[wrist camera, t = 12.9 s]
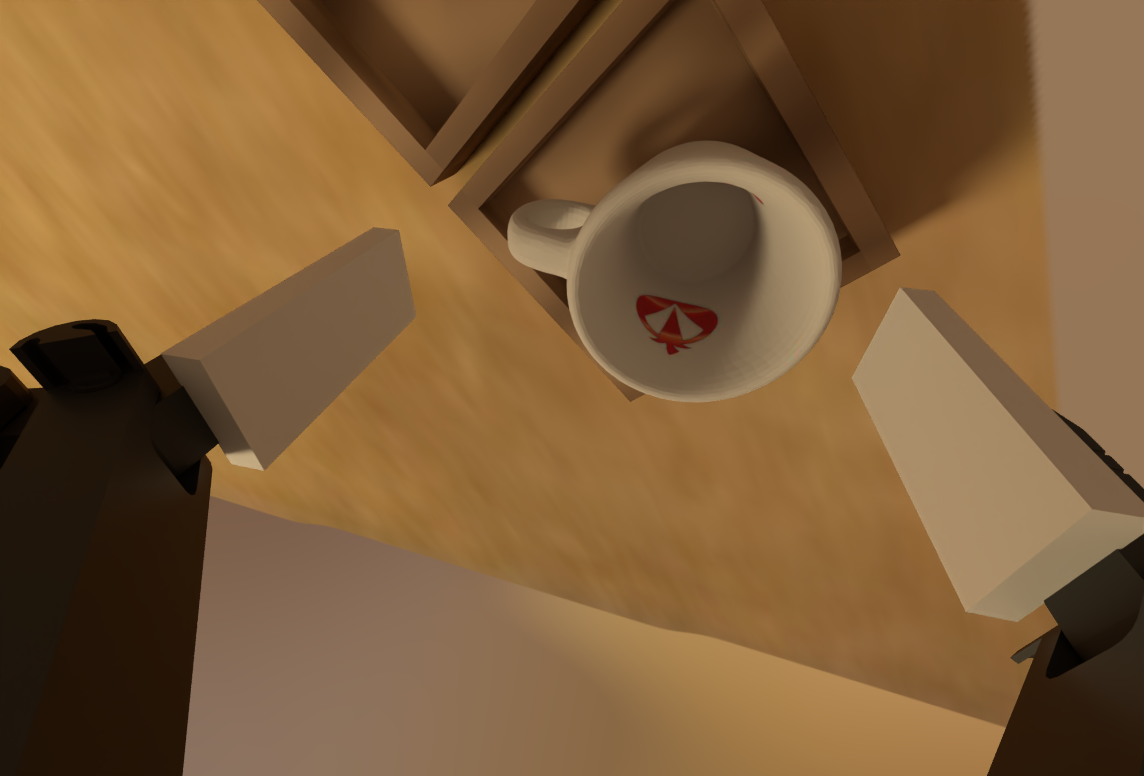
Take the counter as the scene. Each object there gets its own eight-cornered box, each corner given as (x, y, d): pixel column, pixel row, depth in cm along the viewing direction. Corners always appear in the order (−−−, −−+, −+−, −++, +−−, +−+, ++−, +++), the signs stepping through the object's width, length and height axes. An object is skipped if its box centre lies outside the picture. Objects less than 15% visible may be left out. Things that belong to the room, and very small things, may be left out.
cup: (539, 275, 23) (479, 359, 17) (553, 89, 18) (476, 110, 12) (752, 320, 22) (774, 428, 15) (831, 135, 17) (910, 186, 11)
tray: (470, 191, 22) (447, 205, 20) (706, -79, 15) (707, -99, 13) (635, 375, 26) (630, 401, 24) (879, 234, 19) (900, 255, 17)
